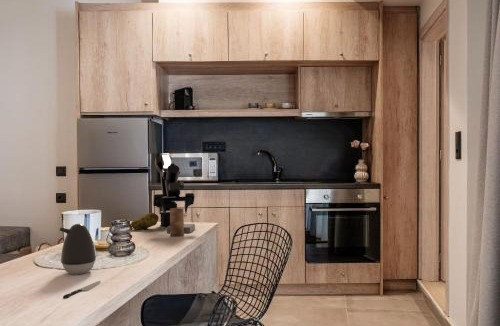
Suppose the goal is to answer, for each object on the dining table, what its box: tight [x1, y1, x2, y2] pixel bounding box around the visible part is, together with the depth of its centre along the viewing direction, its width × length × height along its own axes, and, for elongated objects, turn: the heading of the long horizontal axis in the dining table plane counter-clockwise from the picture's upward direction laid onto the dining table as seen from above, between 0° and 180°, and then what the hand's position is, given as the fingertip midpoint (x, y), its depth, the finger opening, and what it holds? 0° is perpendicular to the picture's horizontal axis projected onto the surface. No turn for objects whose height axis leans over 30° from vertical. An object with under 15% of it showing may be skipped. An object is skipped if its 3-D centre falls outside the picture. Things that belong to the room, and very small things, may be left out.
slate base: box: [166, 223, 196, 234], centre depth 230 cm, size 11×11×2 cm
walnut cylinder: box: [169, 207, 185, 237], centre depth 218 cm, size 6×6×12 cm
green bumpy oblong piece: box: [130, 212, 159, 230], centre depth 237 cm, size 8×13×8 cm, turn 80°
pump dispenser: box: [59, 223, 97, 275], centre depth 151 cm, size 10×10×15 cm
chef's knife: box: [62, 280, 101, 299], centre depth 132 cm, size 19×1×3 cm
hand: (175, 213), depth 220 cm, fingers open, 9 cm apart
